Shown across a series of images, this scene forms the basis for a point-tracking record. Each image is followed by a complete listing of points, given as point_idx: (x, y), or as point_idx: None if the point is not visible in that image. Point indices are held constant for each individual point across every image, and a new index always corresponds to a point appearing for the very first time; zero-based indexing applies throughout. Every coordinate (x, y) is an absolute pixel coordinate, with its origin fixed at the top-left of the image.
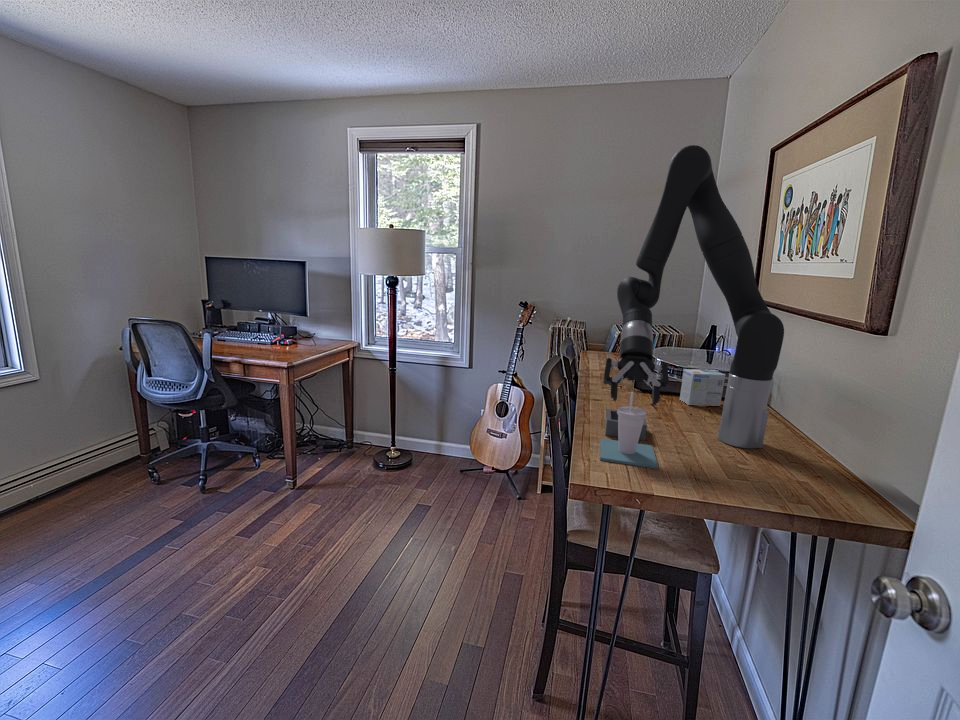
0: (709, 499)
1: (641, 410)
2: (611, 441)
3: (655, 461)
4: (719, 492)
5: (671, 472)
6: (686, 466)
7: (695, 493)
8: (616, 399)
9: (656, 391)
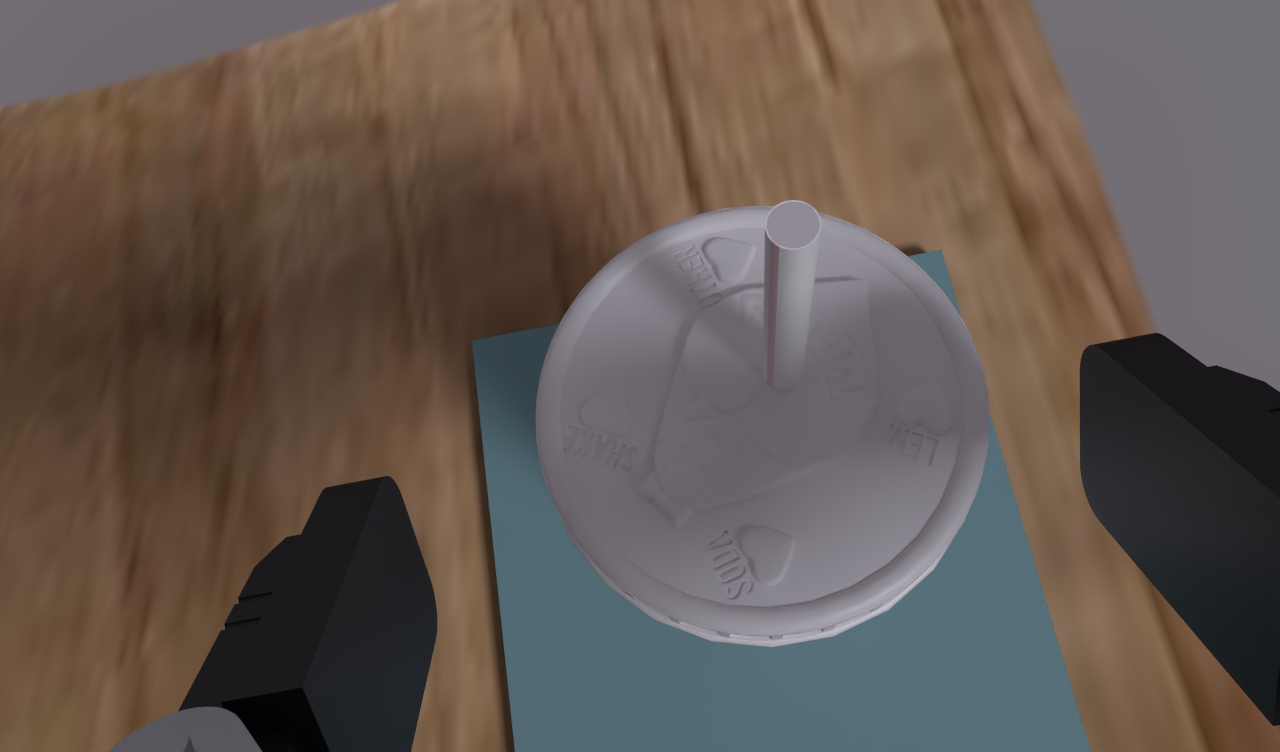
0: (186, 79)
1: (618, 522)
2: (953, 722)
3: (493, 430)
4: (101, 204)
5: (378, 345)
6: (247, 536)
7: (256, 109)
8: (1082, 420)
9: (274, 613)
